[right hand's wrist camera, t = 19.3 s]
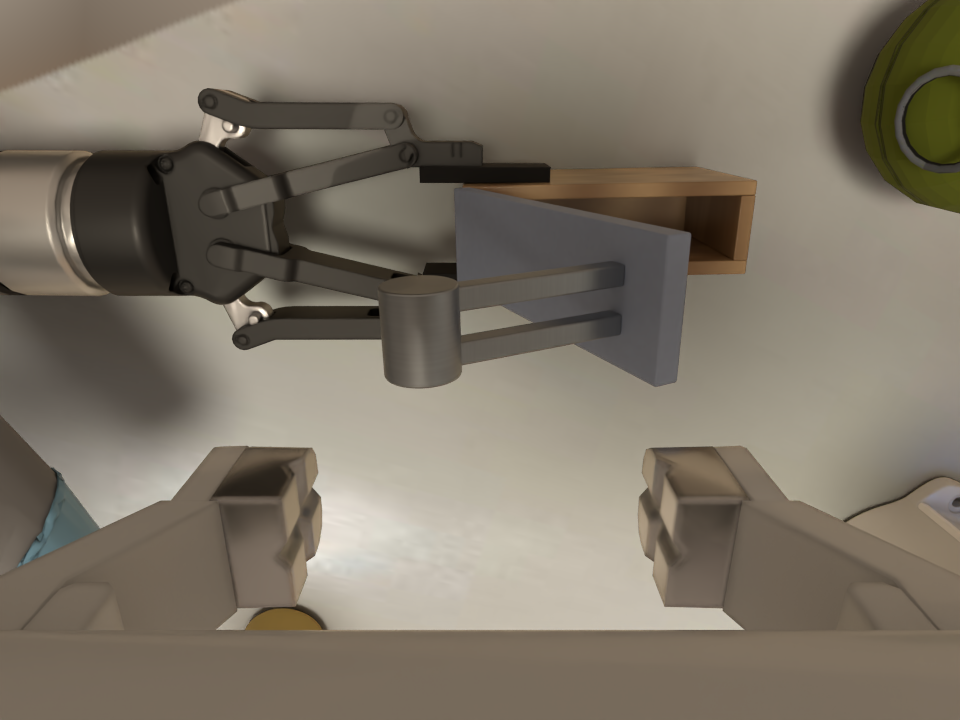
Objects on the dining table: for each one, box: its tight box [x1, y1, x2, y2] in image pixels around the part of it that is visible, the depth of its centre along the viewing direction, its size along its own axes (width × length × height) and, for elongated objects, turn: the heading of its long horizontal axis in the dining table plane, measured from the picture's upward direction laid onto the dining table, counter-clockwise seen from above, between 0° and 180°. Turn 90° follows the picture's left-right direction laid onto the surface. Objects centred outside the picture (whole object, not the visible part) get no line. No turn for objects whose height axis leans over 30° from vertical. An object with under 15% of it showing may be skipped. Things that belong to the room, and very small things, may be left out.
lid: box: [378, 187, 691, 388], centre depth 23 cm, size 15×5×9 cm
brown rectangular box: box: [462, 167, 757, 275], centre depth 36 cm, size 14×5×9 cm, turn 91°
